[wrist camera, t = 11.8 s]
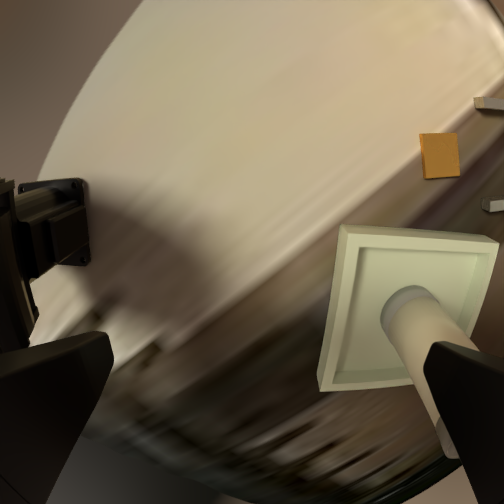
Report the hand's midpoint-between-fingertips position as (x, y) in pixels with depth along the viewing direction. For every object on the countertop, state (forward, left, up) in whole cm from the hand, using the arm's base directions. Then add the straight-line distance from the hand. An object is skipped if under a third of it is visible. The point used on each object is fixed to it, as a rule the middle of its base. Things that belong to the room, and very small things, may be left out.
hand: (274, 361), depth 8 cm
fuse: (+11, -6, -12) cm, 18 cm away
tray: (+11, -6, -13) cm, 18 cm away
